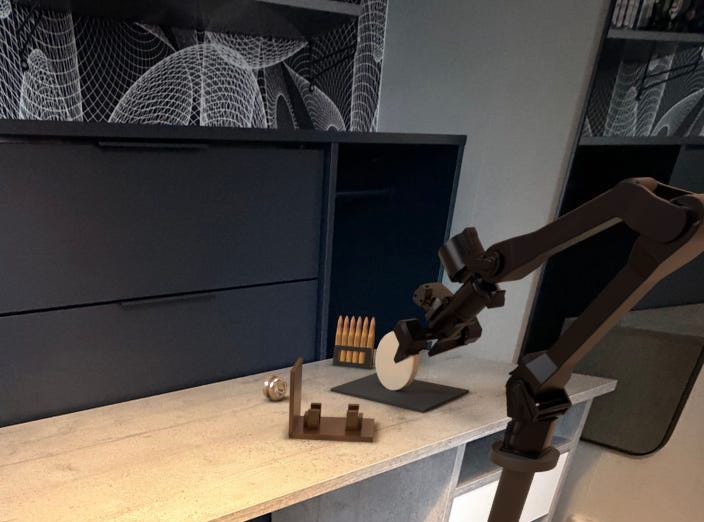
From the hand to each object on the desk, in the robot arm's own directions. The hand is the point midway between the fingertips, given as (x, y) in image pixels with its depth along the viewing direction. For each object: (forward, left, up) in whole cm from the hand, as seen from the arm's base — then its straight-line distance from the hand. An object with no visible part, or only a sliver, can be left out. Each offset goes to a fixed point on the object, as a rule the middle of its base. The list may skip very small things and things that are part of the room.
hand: (412, 358), depth 107 cm
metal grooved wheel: (+20, +20, -8) cm, 30 cm away
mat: (+3, -2, -8) cm, 9 cm away
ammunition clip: (+25, -14, -8) cm, 30 cm away
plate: (+3, -1, -7) cm, 8 cm away
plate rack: (-2, +27, -8) cm, 28 cm away
